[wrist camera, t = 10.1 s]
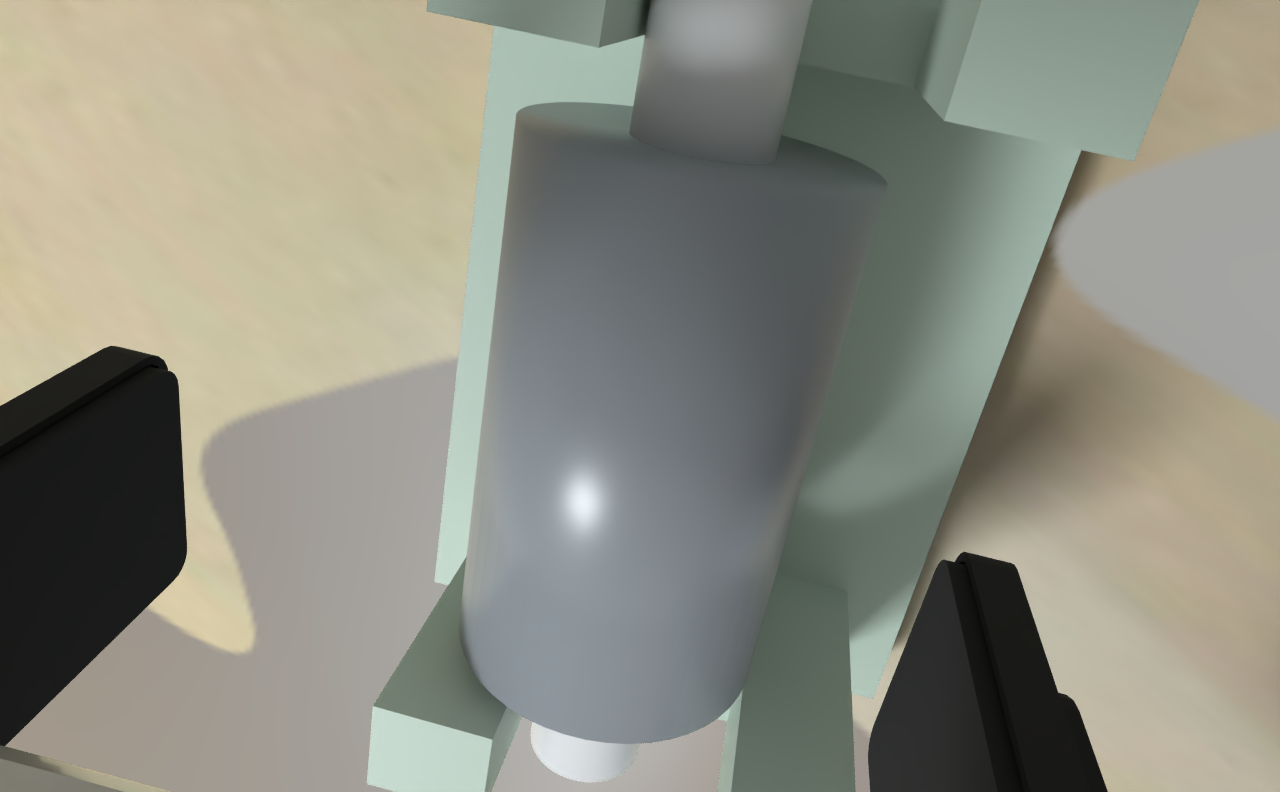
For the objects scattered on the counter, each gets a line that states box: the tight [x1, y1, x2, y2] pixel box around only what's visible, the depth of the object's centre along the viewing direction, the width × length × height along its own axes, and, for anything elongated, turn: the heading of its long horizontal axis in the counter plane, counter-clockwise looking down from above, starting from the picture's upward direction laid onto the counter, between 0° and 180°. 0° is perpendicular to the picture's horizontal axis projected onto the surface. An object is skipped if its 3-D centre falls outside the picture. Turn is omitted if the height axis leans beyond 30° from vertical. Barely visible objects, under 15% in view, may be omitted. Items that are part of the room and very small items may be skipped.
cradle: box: [367, 0, 1199, 792], centre depth 18 cm, size 18×12×9 cm, turn 169°
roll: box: [459, 0, 888, 782], centre depth 17 cm, size 16×6×6 cm, turn 170°
